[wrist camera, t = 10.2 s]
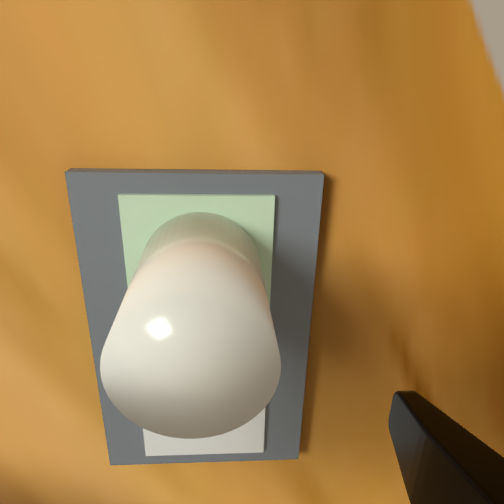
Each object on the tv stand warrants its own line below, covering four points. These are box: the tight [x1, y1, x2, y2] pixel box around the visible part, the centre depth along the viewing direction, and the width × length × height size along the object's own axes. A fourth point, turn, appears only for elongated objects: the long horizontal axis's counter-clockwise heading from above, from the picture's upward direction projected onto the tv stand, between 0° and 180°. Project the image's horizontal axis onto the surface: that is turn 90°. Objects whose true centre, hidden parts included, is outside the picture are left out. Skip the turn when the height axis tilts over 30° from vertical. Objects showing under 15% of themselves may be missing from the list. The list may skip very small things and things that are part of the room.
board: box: [65, 168, 324, 465], centre depth 18 cm, size 14×9×1 cm, turn 179°
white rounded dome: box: [100, 212, 281, 439], centre depth 13 cm, size 4×4×6 cm
